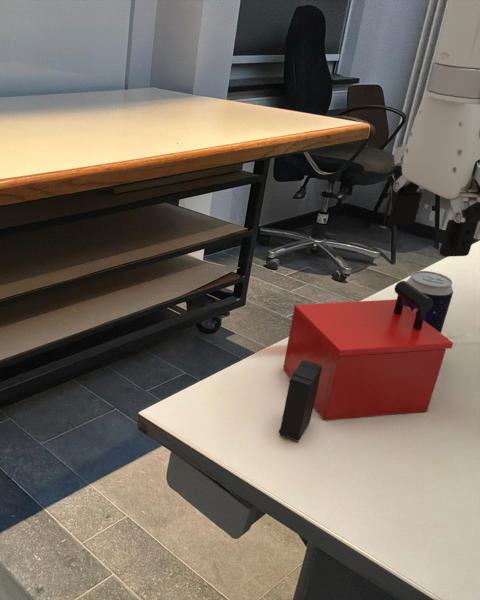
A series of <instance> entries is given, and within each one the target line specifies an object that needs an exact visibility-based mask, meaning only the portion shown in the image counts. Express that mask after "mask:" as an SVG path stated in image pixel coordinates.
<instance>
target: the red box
mask: <svg viewBox="0 0 480 600" xmlns="http://www.w3.org/2000/svg"><path fill="white" fill-rule="evenodd" d="M290 323H291V324H290V329H289V334H288V340H287V345H286V350H285V356H284V360H283V361H284V362H283V366H282V370H283V371H284V372H285V374H286V375H287V376H288V377H289V379H290V378H291V377H292V375H293V373H294V371H295V370H296V369H297V367H298V366H299V364H300V363H301V361H303V360H305V361H308V362H311V363H314V364H318V365H321V366H322V370H321V375H320V379H319V384H318V388H317V393H316V397H315V402H314V407H313V409H315V410H316V412H317V413H318V415H320V417H321V418H322V419H323V420H324V421H329V420H340V419H352V418H353V419H355V418H366V417H377V416H379V417H380V416H387V415H388V416H390V415H402V414H412V413H424V412H428V409H429V406H430V403H431V399H432V396H433V393H434V390H435V387H436V383H437V380H438V376H439V374H440V370H441V367H442V364H443V360H444V357H445V354H446V350H447V349H438V350H423V351H408V352H393V353H379V354H364V355H349V356H338V355H337V354H336V353H335V352H334V351H333V350H332V349H331V348H330V347H329V346H328V345H327V344H326V343H325V342H324V341H323V340H322V339H321V338H320V337H319V336H318V335H317V333H316V332H315V331H314V330H313V329H312V328H311V327H310V326H309V325H308V324H307V323H306V322H305V321H304V320H303V319H302V318H301V317H300V316H299V315H298V314H297V313H296V312H295V311H294V310H293V312H292V319H291V322H290Z"/></svg>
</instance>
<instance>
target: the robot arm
mask: <svg viewBox="0 0 480 600" xmlns="http://www.w3.org/2000/svg"><path fill="white" fill-rule="evenodd" d="M393 163H394V167H393V170H392V172H393V177H394V182H393V186H392V187H393V188H392V189H393V191H394V192H395V193H394V196H393V200H392V203H391V207H390V212H389V216H388V220H387V223H388V225H390V226H392V227H397V226H398V227H399V226H401V227H402V226H413V225H414V224H415V223H416V219H417V216H418V212H419V208H420V204H421V200H422V196H423V192H421V191H420V190H421V189H424V190H427V191H429V192H431V193H433V194H435V195H437V196H439V197H442V198H444V199H447V200H449V203H450V208H451V212H452V216H453V219H448V220H447V223H446V227H445V230H444V233H443V237H442V241H441V243H440V247H439V252H438V253H439V255H440V256H442V257H443V258H446V257H450V258H451V257H466V256H469V254H470V251H471V248H472V245H473V241H474V238H475V235H476V231H477V229H478V225H479V223H480V0H448V1H447V5H446V10H445V13H444V18H443V22H442V25H441V30H440V32H439V38H438V42H437V45H436V49H435V54H434V57H433V62H432V65H431V69H430V73H429V77H428V82H427V84H426V89H425V93H424V95H423V97H422V100H421V101H420V105H419V107H418V109H417V112H416V115H415V117H414V120H413V122H412V127H411V129H410V133H409V134H408V138H407V142H406V144H403V145H401V146H399V147H396V148H395V149H394V150H393ZM464 202H468V204H469V206H468V207H467V208H466V207H465V203H464Z"/></svg>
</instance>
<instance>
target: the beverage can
mask: <svg viewBox="0 0 480 600" xmlns="http://www.w3.org/2000/svg"><path fill="white" fill-rule="evenodd" d="M405 281H406V282H408V283H409V284H410V285H412V286H413V287H415V288H416V289H418V290H419V291H420V292H422V293H423V294H425V295H426V296H427V297H429V298H430V299H432V300H433V307H432V308H431V309H430V310H429V311H427V312H426V314H425V317H424V321H425V322H427V323H428V324H429V325H431V326H432V327H433V328H435V329H436V330H437V331H438V332H440V333H441V334H442V332H443V328H444V325H445V322H446V319H447V314H448V312H449V308H450V305H451V301H452V297H453V294H454V290H453V286H452V285H453V280H452V279H451V278H450V277H448V276H447V275H444V274H442V273H438V272H434V271H429V270H417V271H413V272H411V274H410V277H409V278H408V279H407V280H405ZM404 306H406V307H407V308H408V309H409V310H411V311H412V312H413V313H415V314H417V310H418V309H417V308H415V307H414V306H413V305H411V304H410V303H409V302H407V301H406V300H405V302H404Z"/></svg>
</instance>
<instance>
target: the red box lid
mask: <svg viewBox="0 0 480 600" xmlns="http://www.w3.org/2000/svg"><path fill="white" fill-rule="evenodd" d="M406 281H407V280H401V281H398V282H397V283H396V284H395V286H394V292H395V294H397V297H396V299H380V300H361V301H359V300H357V301H343V302H342V301H341V302H323V303H303V304H295V305H294V307H293V312H294V311H295V312H296V313H297V314H298V315H299V316H300V317H301V318H302V319H303V320H304V321H305V322H306V323H307V324H308V325H309V326H310V327H311V328H312V329H313V330H314V331H315V332H316V333H317V335H318V336H319V337H320V338H321V339H322V340H323V341H324V342H325V343H326V344H327V345H328V346H329V347H330V348H331V349H332V350H333V351H334V352H335V353H336V354H337V355H338V356H349V355H364V354H379V353H393V352H408V351H423V350H438V349H446V350H449V349H452V348H453V346H454V342H453V341H451V340H450V339H449V338H448V337H446V336H445V335H444V334H443V333H442V332H441V333H440V332H438V331H437V330H436V329H435V328H433V327H432V326H431V325H429V324H428V323H427V322H425V321H424V317H425V314H426V312H427V311H429V310H430V309H431V308H432V307H433V300H432V299H430V298H429V297H427V296H426V295H425V294H423V293H422V292H420V291H419V290H418V289H416V288H415V287H413V286H412V285H410V284H409V283H408V282H406ZM405 300H406V301H407V302H409V303H410V304H411V305H413V306H414V307H415V308H417V309H418V310H417V314H415V313H413V312H412V311H411V310H409V309H408V308H407V307H406V306H404V302H405Z"/></svg>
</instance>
